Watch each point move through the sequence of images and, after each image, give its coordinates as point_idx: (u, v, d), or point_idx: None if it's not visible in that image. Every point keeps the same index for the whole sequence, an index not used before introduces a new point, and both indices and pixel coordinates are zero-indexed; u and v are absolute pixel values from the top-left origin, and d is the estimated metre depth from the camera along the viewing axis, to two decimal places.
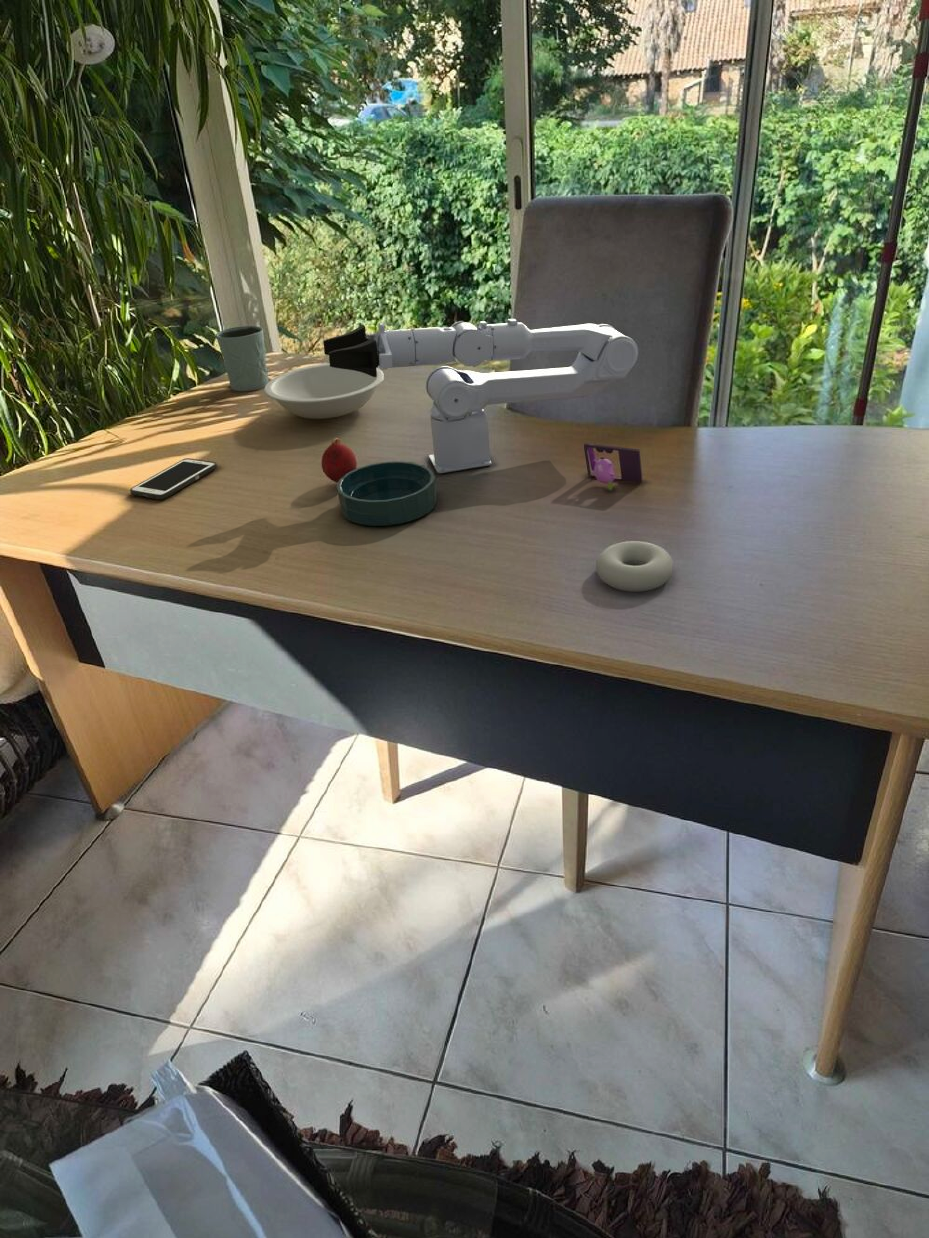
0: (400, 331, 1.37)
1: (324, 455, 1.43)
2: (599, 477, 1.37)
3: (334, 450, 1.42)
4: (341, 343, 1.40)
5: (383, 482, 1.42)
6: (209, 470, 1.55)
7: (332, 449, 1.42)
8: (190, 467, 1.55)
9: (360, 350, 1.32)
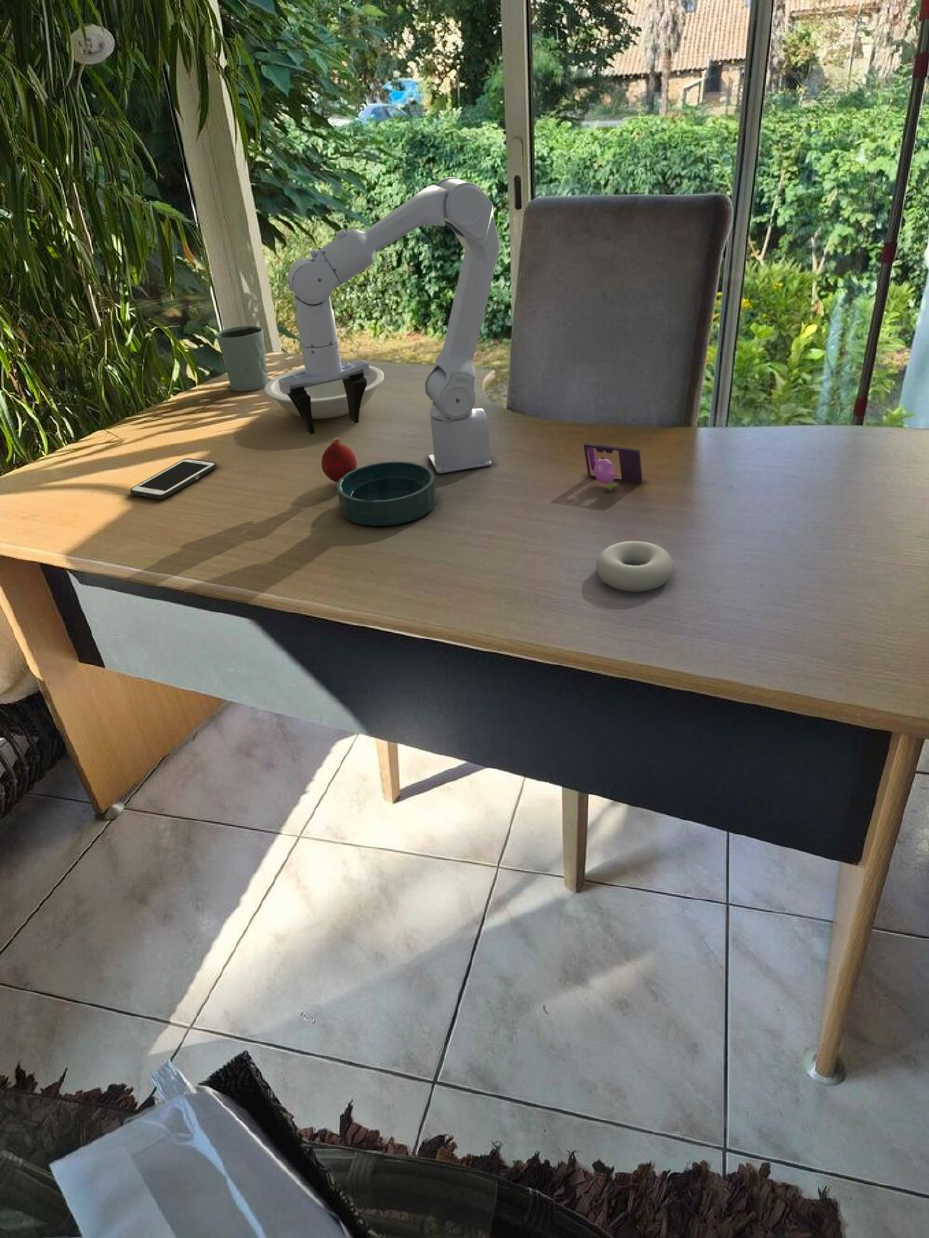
0: None
1: (324, 455, 1.43)
2: (599, 477, 1.37)
3: (334, 449, 1.42)
4: (350, 404, 1.42)
5: (383, 482, 1.42)
6: (209, 470, 1.55)
7: (332, 449, 1.42)
8: (190, 467, 1.55)
9: (294, 403, 1.38)
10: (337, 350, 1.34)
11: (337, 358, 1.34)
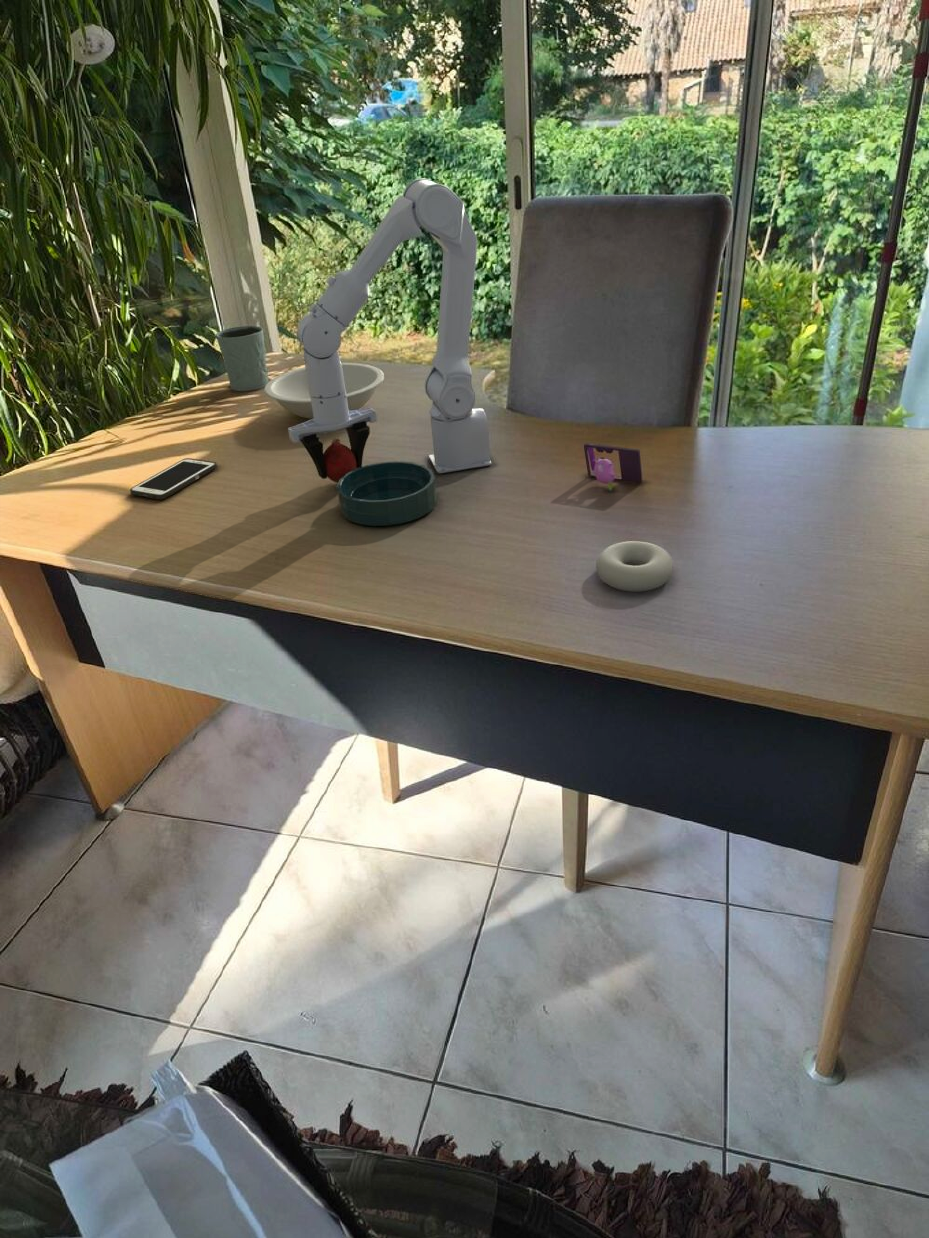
0: None
1: (324, 455, 1.43)
2: (599, 477, 1.37)
3: (334, 450, 1.42)
4: (353, 450, 1.46)
5: (383, 482, 1.42)
6: (209, 470, 1.55)
7: (332, 449, 1.42)
8: (190, 467, 1.55)
9: (306, 449, 1.43)
10: (345, 400, 1.38)
11: (344, 408, 1.39)
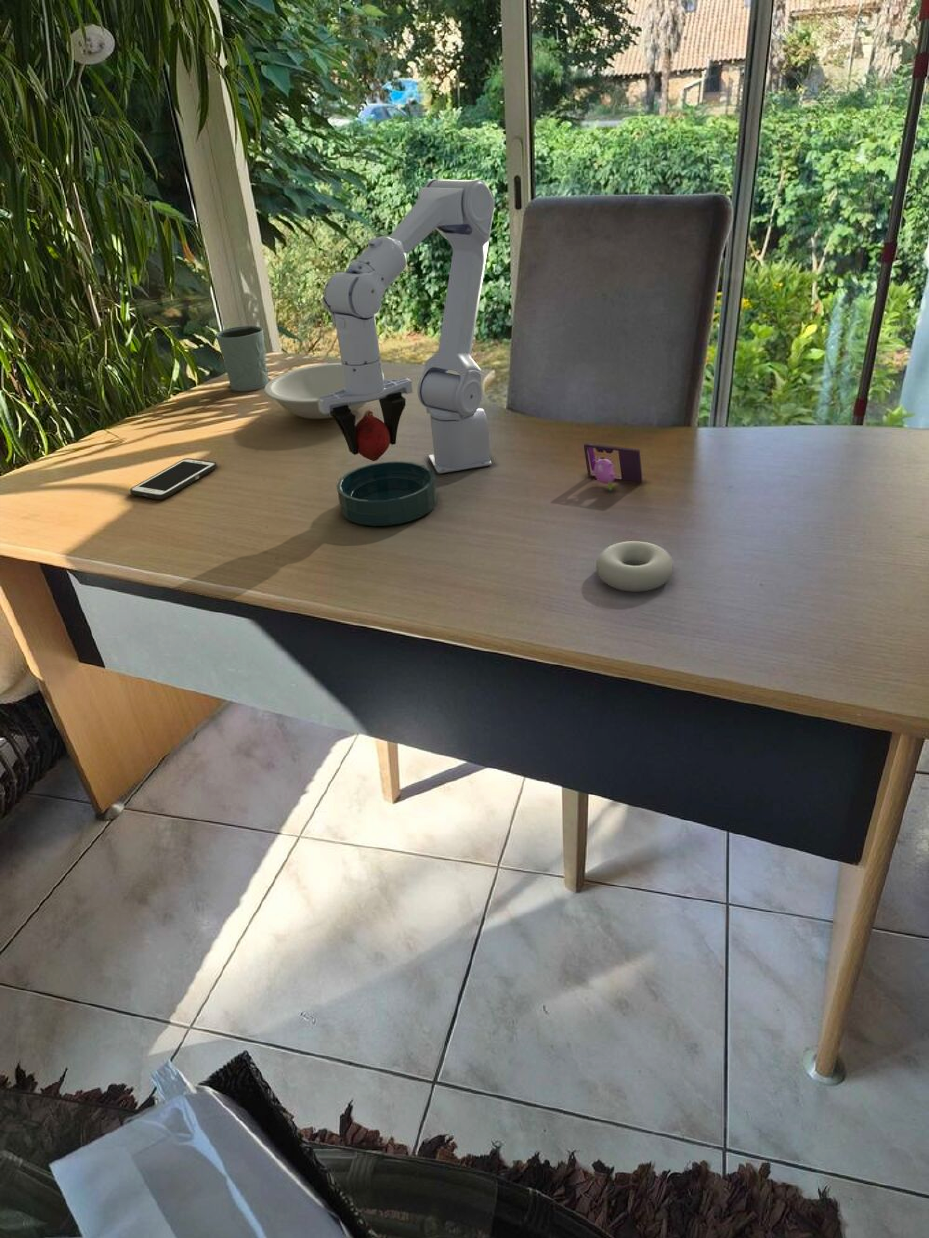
0: None
1: (355, 429, 1.32)
2: (599, 477, 1.37)
3: (366, 423, 1.31)
4: (386, 424, 1.35)
5: (383, 482, 1.42)
6: (209, 470, 1.55)
7: (365, 422, 1.31)
8: (190, 467, 1.55)
9: (337, 422, 1.31)
10: (379, 368, 1.27)
11: (379, 376, 1.27)
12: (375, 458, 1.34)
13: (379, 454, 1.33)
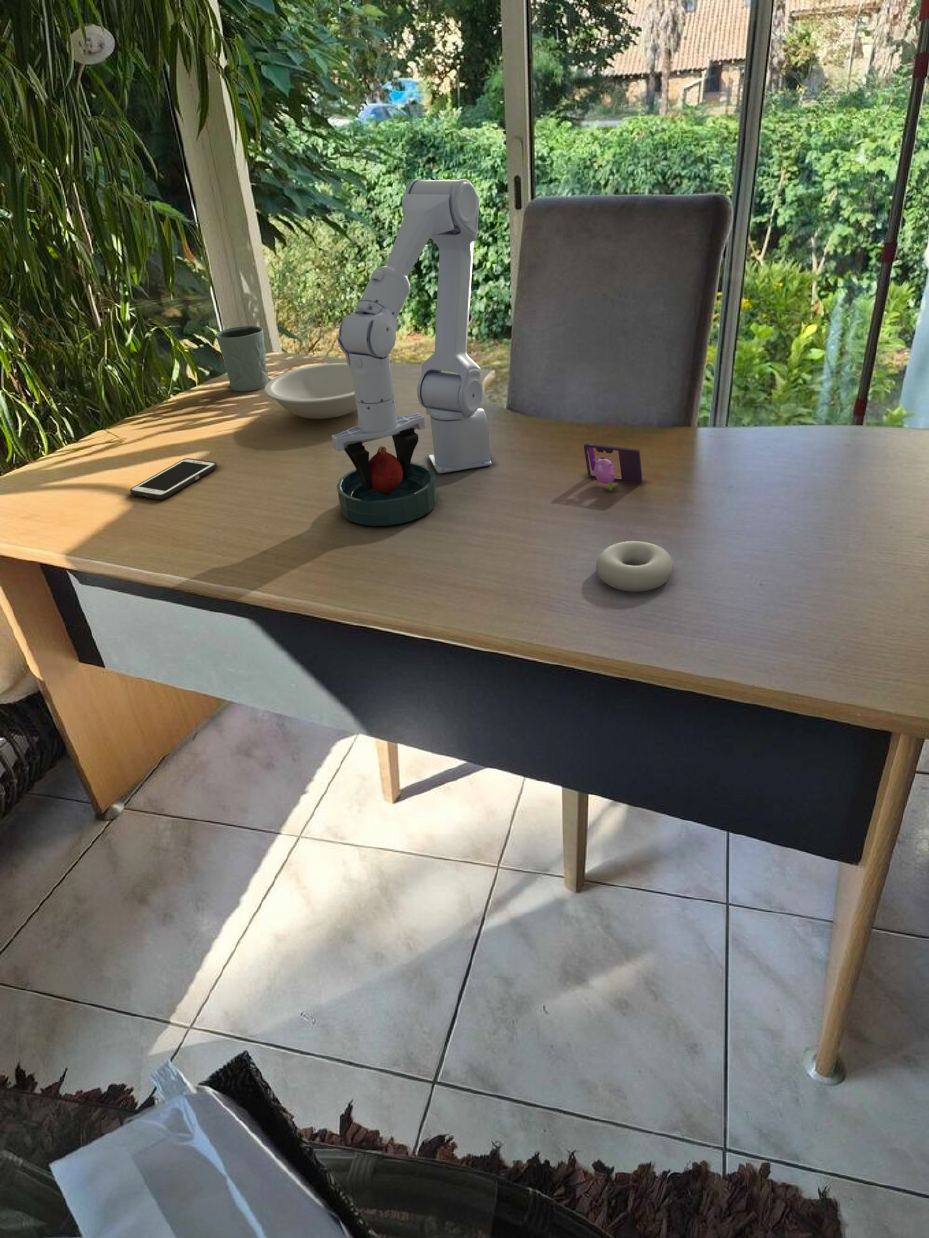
0: None
1: (369, 465, 1.33)
2: (599, 477, 1.37)
3: (380, 459, 1.32)
4: (399, 459, 1.36)
5: None
6: (209, 470, 1.55)
7: (378, 458, 1.32)
8: (190, 467, 1.55)
9: (350, 458, 1.33)
10: (393, 405, 1.28)
11: (393, 414, 1.29)
12: (388, 493, 1.36)
13: (392, 489, 1.35)
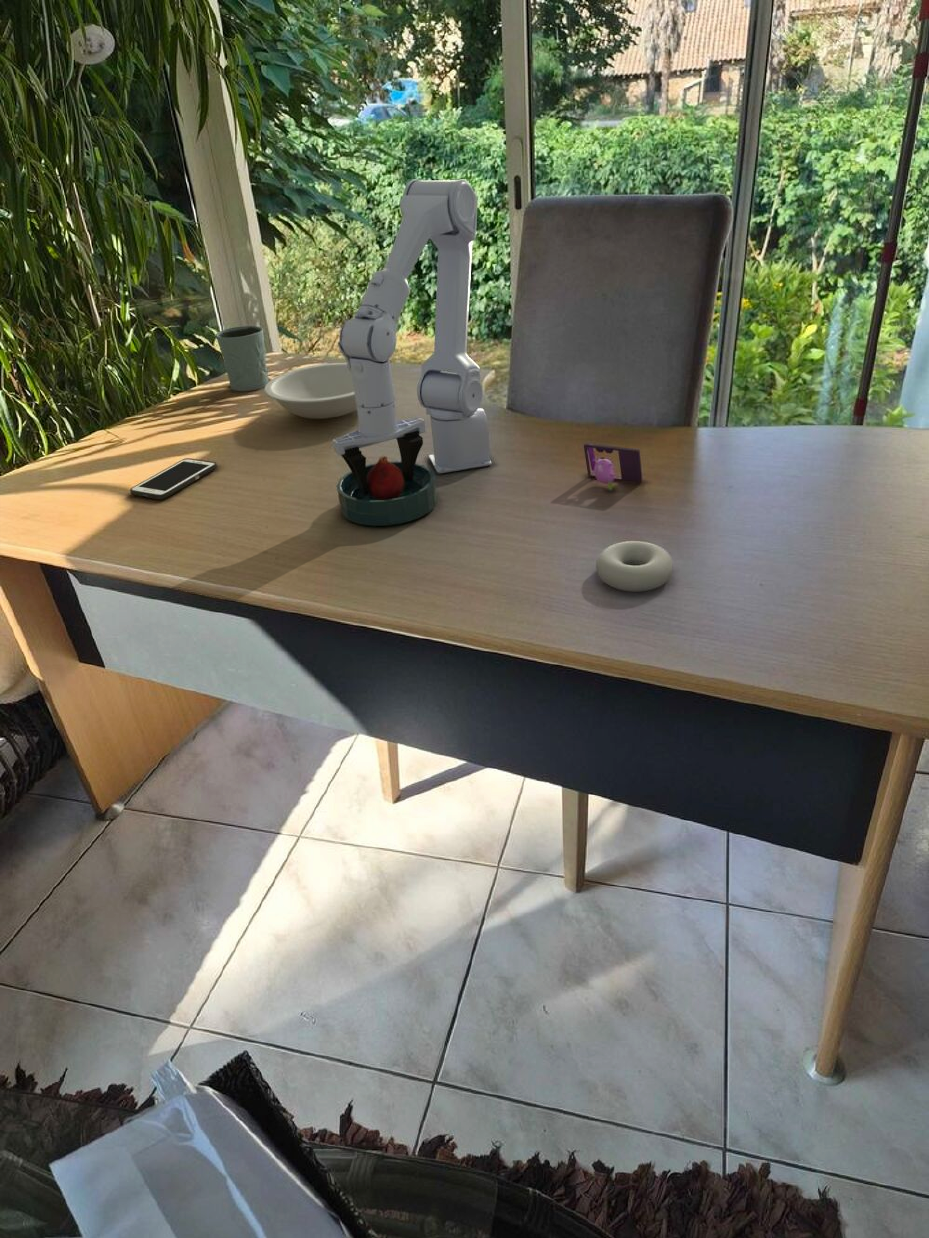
0: None
1: (370, 474, 1.34)
2: (599, 477, 1.37)
3: (381, 468, 1.33)
4: (404, 462, 1.36)
5: None
6: (209, 470, 1.55)
7: (379, 467, 1.33)
8: (190, 467, 1.55)
9: (347, 463, 1.33)
10: (394, 409, 1.29)
11: (393, 418, 1.29)
12: None
13: (393, 498, 1.35)
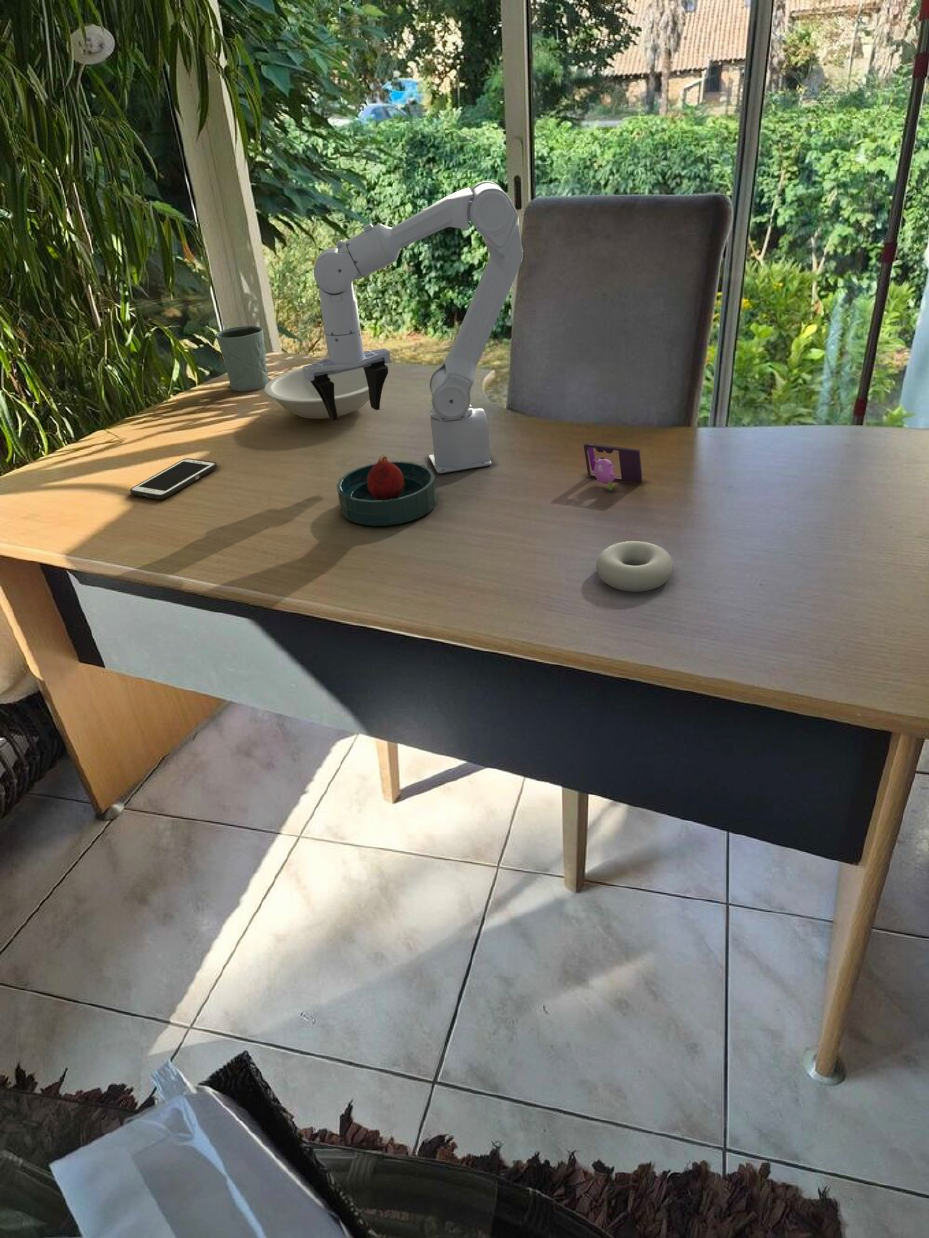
0: None
1: (370, 474, 1.34)
2: (599, 477, 1.37)
3: (381, 468, 1.33)
4: (371, 391, 1.45)
5: None
6: (209, 470, 1.55)
7: (379, 467, 1.33)
8: (190, 467, 1.55)
9: (317, 391, 1.42)
10: (360, 338, 1.38)
11: (359, 346, 1.38)
12: None
13: (393, 498, 1.35)
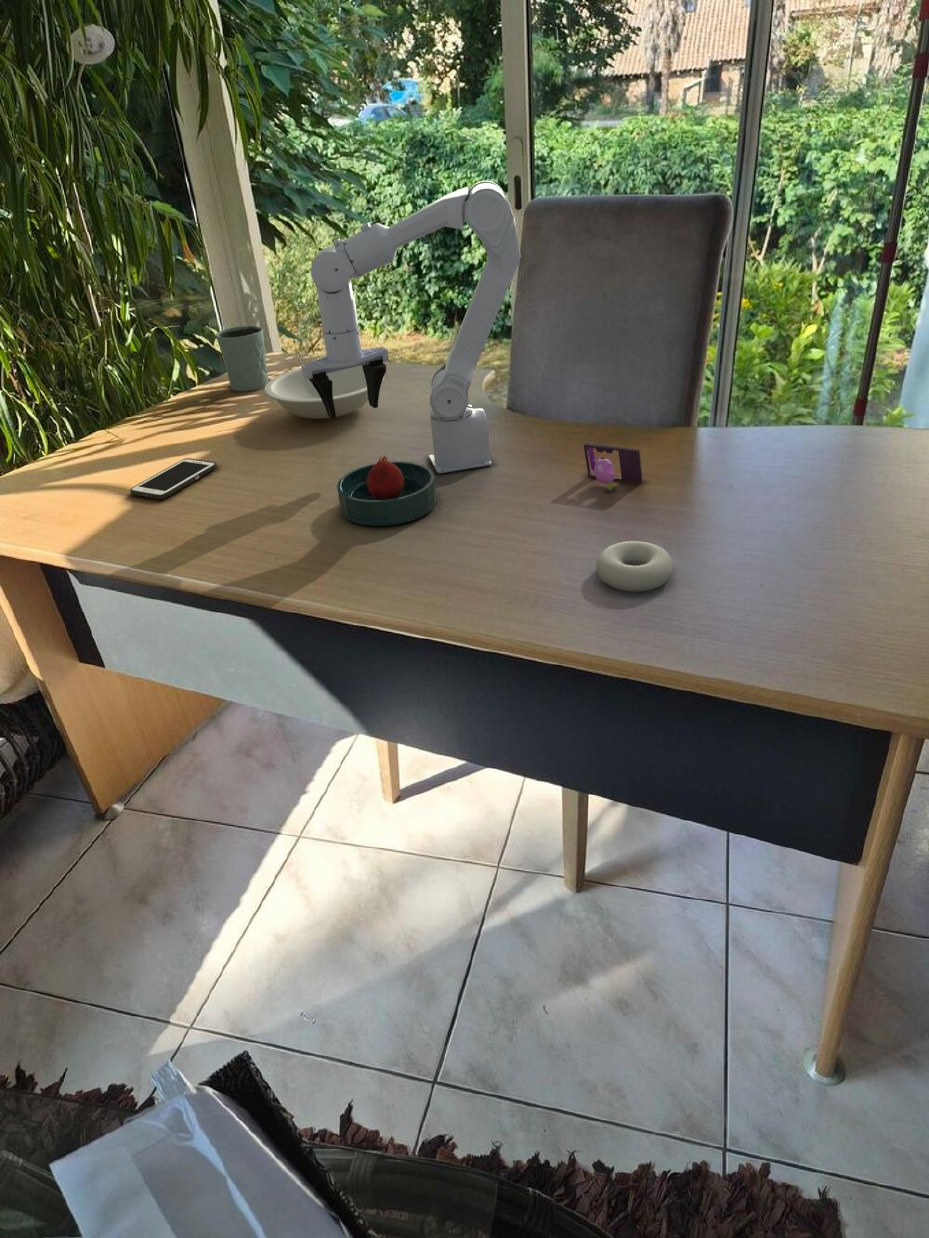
0: None
1: (370, 474, 1.34)
2: (599, 477, 1.37)
3: (381, 468, 1.33)
4: (369, 389, 1.46)
5: None
6: (209, 470, 1.55)
7: (379, 467, 1.33)
8: (190, 467, 1.55)
9: (316, 388, 1.43)
10: (358, 336, 1.39)
11: (357, 344, 1.39)
12: None
13: (393, 498, 1.35)
